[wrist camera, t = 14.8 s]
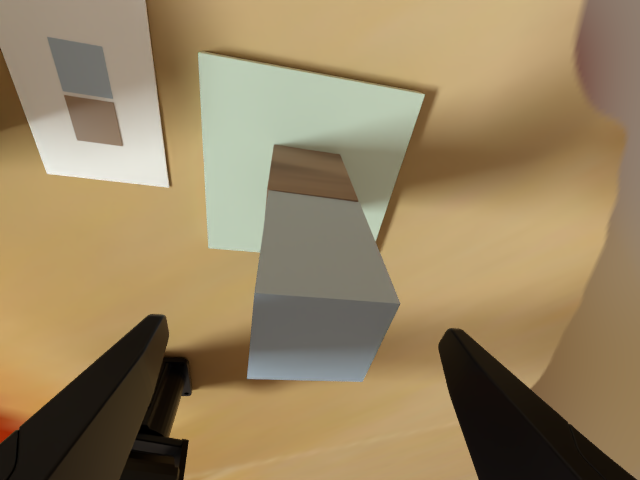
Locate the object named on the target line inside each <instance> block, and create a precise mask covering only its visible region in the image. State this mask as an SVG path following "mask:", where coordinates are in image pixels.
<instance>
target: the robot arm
mask: <svg viewBox="0 0 640 480" xmlns="http://www.w3.org/2000/svg"><path fill="white" fill-rule="evenodd" d="M168 338H169V330H168V325H167V320H166V316H165V315H161V314H150V315H148V316H147V317H146V318H144V319H143V320H142V321H141V322H140V323H139V324H138V325H136V326H135V327H134V328H133V329H132V330H131V331H129V332H128V333H127V334H126V335H125V336H124V337H123V338H121V339H120V340H119V341H118V342H117V343H116V344H115V345H113V346H112V347H111V348H110V349H109V350H108V351H106V352H105V353H104V354H103V355H102V356H101V357H100V358H98V359H97V360H96V361H95V362H94V363H93V364H92V365H90V366H89V367H88V368H87V369H86V370H85V371H83V372H82V373H81V374H80V375H79V376H78V377H77V378H75V379H74V380H73V381H72V382H71V383H70V384H69V385H67V386H66V387H65V388H64V389H63V390H62V391H60V392H59V393H58V394H57V395H56V396H55V397H54V398H52V399H51V400H50V401H49V402H48V403H47V404H45V405H44V406H43V407H42V408H41V409H40V410H39V411H37V412H36V413H35V414H34V415H33V416H32V417H31V418H29V419H28V420H27V421H26V422H25V423H24V424H22V425H21V426H20V428H19V430H16V431H14V432H13V433H12V434H11V435H10V436H8V437H7V438H6V439H5V440H4V441H3V442H2V443H0V480H183V479H184V471H185V464H186V457H187V449H188V442H189V440H186V439H182V440H180V439H174V438H169V435H170V432H171V429H172V425H173V422H174V419H175V415H176V412H177V409H178V405H179V402H180V399H181V396H190V395H191V393H192V384H191V377H190V370H189V363H188V360H187V359H184V358H163V357H164V353H165V350H166V346H167V343H168ZM438 348H439V354H440V358H441V362H442V366H443V370H444V374H445V378H446V383H447V387H448V390H449V394H450V397H451V400H452V403H453V406H454V409H455V412H456V415H457V418H458V421H459V424H460V427H461V429H462V432H463V435H464V438H465V441H466V444H467V447H468V450H469V453H470V456H471V458H472V461H473V464H474V467H475V470H476V473H477V476H478V479H479V480H637V479H635V478H634V477H633V476H632V475H630V474H629V473H628V472H626V471H625V470H624V469H623V468H622V467H620V466H619V465H618V464H617V463H615V462H614V461H613V460H612V459H610V458H609V457H608V456H607V455H606V454H604V453H603V452H602V451H601V450H600V449H599V448H597V447H596V446H595V445H594V444H593V443H592V442H590V441H589V440H588V439H587V438H586V437H584V436H583V435H582V434H581V433H580V432H579V431H577V430H576V429H575V428H574V427H573V426H572V425H571V424H568V422H567V421H566V420H565V419H563V417H561V416H560V415H559V414H558V413H557V412H556V411H555V410H553V409H552V408H551V407H550V406H549V405H548V404H546V403H545V402H544V401H543V400H542V399H541V398H540V397H538V396H537V395H536V394H535V393H534V392H533V391H532V390H531V389H529V388H528V387H527V386H526V385H525V384H524V383H523V382H521V381H520V380H519V379H518V378H517V377H516V376H515V375H513V374H512V373H511V372H510V371H509V370H508V369H507V368H505V367H504V366H503V365H502V364H501V363H500V362H499V361H497V360H496V359H495V358H494V357H493V356H492V355H491V354H489V353H488V352H487V351H486V350H485V349H484V348H482V347H481V346H480V345H479V344H478V343H477V342H476V341H474V340H473V339H472V338H471V337H470V336H469V335H468V334H466V333H465V332H464V331H463V330H461V329H456V328H449V329H448V330H447V331H446V332H445V334H444V336H443V337H442V339H441V340H440V342H439V346H438Z"/></svg>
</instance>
